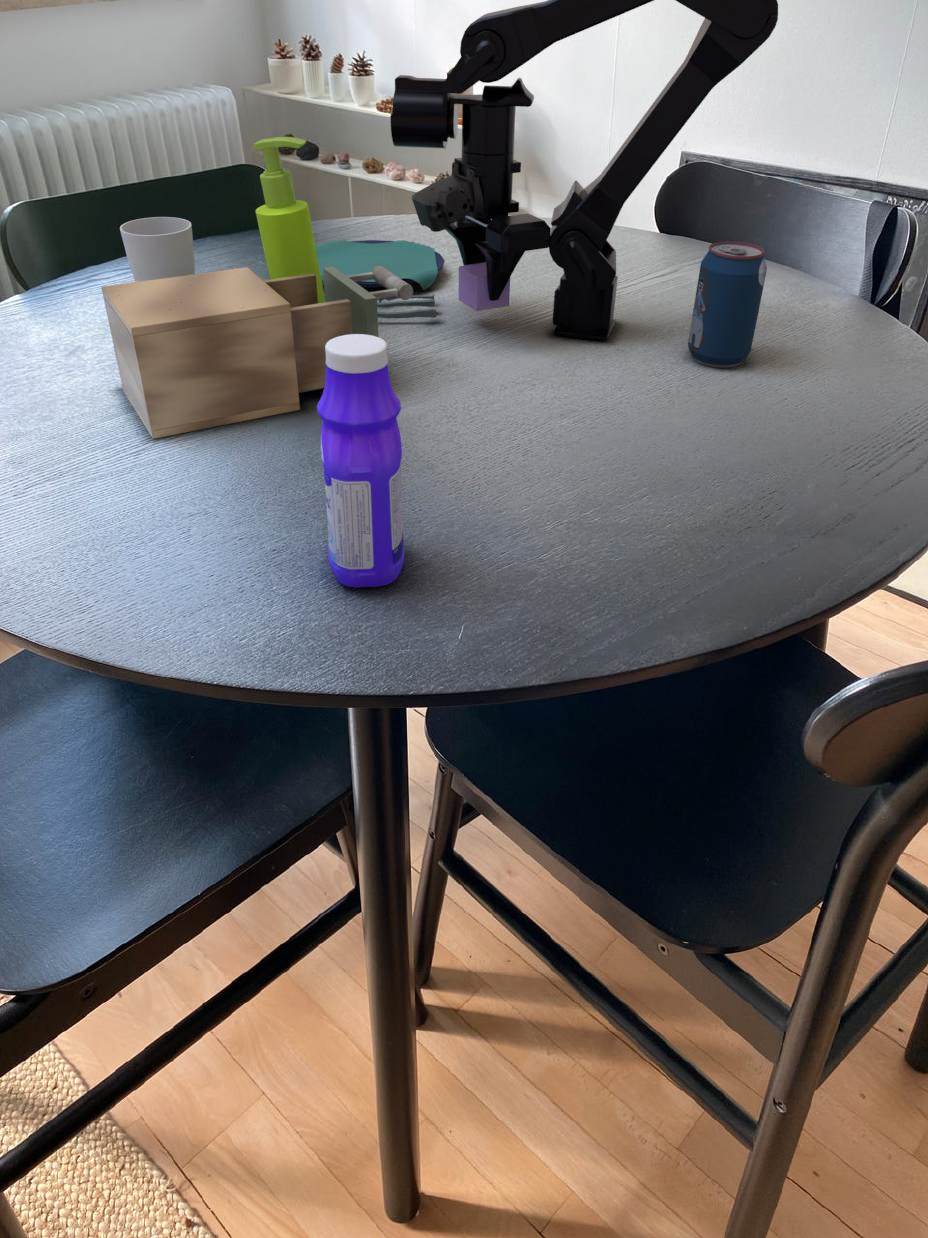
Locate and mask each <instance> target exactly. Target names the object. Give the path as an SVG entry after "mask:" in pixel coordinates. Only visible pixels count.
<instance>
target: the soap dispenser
mask: <svg viewBox="0 0 928 1238" xmlns="http://www.w3.org/2000/svg"><path fill="white" fill-rule="evenodd" d="M306 143H307V139H303V138H299V137H293V136H275V137H270V138H263V139H259V140H257V141H256V142H254V143H253V147H254V148H253V149H254V150H255V151H257V150H262V155H263V160H264V164H265V170H263V173H261V174H260V175H259V180H260V184H261V190H262V194H263V199H264V204H263V205H261V206H259V207H257V208H256V209H255V216H256V221H257V226H258V230H259V235H260V239H261V245H262V249H263V254H264V258H265V259H264V260H265V262H266V267H267V268H266V269H267V273H268V277H269V279H276V278H283V277H290V276H298V275H305V274H312V273H313V274H315V275H316V283H317V296H318V304H319V303H325V297H324V296H325V293H324V286H323V285H322V280H321V275H320V269H319V263H318V258H317V252H316V247H315V246H316V241H315V236H314V235H315V234H314V232H313V225H312V219H311V214H310V208H309V203H308V202H307V201H305V200H301V199H296V194H295V189H294V184H293V178H292V177H293V176H292V172H291V171H290V170H289V169H287V168H285V167H282V161H281V157H280V150H279V148H292V149H293V148H294V149H297V150H299V149H300V148H302V147H303V146H304V145H305V144H306Z"/></svg>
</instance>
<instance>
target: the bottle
mask: <svg viewBox="0 0 928 1238" xmlns="http://www.w3.org/2000/svg"><path fill="white" fill-rule="evenodd" d="M325 352H326V381H325V388H323V392H322V394H321V397H320V399H319V400H318V403H317V406H316V411H317V414H318V416H319V417H320V419H321V420H322V423H321V429H320V430H321V431H320V443H319V444H320V458H321V462H322V466H323V477H324V488H325V503H326V519H327V521H326V522H327V535H328V538H327V539H328V548H327V556H328V557H327V558H328V563H329V566H330V569H331V572H332V573H333V576H334V577H335V579H336V580H337V582H339V583H340V584H341V585H343V586H346V587H351V588H375V587H383V586H387V585H390V584H392V583H393V582H395V580H396V579H398V577H399V575H400V574H401V572H402V568H403V565H404V561H405V541H404V523H403V519H404V518H403V494H402V493H403V492H402V457H403V450H402V449H403V448H402V447H403V446H402V438H401V431H400V427H399V423H398V419H397V418H398V416H399V414H400V412H401V410H402V404H401V400H400V398H398V396H397V394H396V393H395V391H394V388H393V386H392V383H391V382H392V381H391V376H390V371H389V359H388V344H387V342H386V341H385V340H384V339H383V338H381V337H379V336H378V337H376V336H372V335H366V334H350V335H343V336H339V337H335V338H333V339H331V340H329V341H328V342H327V343H326V345H325Z"/></svg>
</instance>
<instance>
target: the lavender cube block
mask: <svg viewBox="0 0 928 1238" xmlns="http://www.w3.org/2000/svg"><path fill="white" fill-rule="evenodd" d="M510 291H511V277H510V278H509V280H508V282H507V284H506V286H505V288H504V290H503V292H502V294H501V296H500V298H499V299H498V300H495V301H491V300H490V299H489V294H488V284H487V270H486V262H485V263H478V264H471V265H459V266H458V301H459V302H461V303H463V304H464V305H466V306H468V307H469V308H471V309H472V310H474V311H475V312H481V311H485V310H492V309H497V308H504V307H509V306H510V296H511V295H510Z"/></svg>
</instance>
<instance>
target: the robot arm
mask: <svg viewBox="0 0 928 1238" xmlns="http://www.w3.org/2000/svg"><path fill="white" fill-rule="evenodd" d="M654 1H655V0H545V1H540V2H535V3H530V4H525V5H520V6H515V7H510V8H506V9H501V10H496V11H492V12H487V13H485V14H483V15H482V16H480V17H478V18H476V20H474V21H473V22H472V23H470V24H469V25H468V26H467V28H466V29H465V30H464V32H463V35H462V38H461V40H460V48H459V54H460V58H458V61H457V62H456V63H455V65H454V67H451V69H449V70H448V71H447V72H446V78H433V77H416V76H413V75H407V74H399V75H398V76H396V77H395V78H394V93H393V97H392V98H393V99H392V111H391V113H390V117H389V118H390V134H391V140H392V144H393V146H394V147H399V148H425V149H446V148H447V145H448V142H449V138H450V139H451V140H455V139H457V136H458V128H459V105H462V106H461V107H462V108H461V157H455V158H453V159H454V161H453V162H452V164H451V175H449V176H446V177H445V178H441V179H439V180H436V181H435V182H433V183H431V184H429V185H427V186H425V187H424V188H421V189H420V190H418V191H416V192H414V193H413V194H412V196H411V200H412V204H413V206H414V210H415V212H416V215H417V219H418V221H419V223H420V226H423V227H426V228H428V229H429V230H430V231H431V232H434V233H439V232H442V231H446V232H447V233H448V234H449V235H450V236H451V237H452V238H453V239H454V240H455V242H456V244H457V248H458V250H459V253H460V257H461V260H462V266H464V265H471V264H478V263H485V262H486V270H487V284H488V294H489V299H490V300H491V301H495V300H498V299H499V298H500V296H501V294H502V292H503V290H504V288H505V286H506V284H507V282H508V280H509V278H510V279H511V276H512V275H513V273H514V270H515V269H516V267H517V265H518V264H519V262H520V261H521V259H522V257H523V256H524V254H525V253H526V252H529V251H536V250H537V251H538V250H543V249H549V250H548V251H549V255H550V257H551V259H552V261H553V262H554V263H555V265H557V266H558V267H559V268H561V269H562V270H563V274H562V275H561V276H560V278H559V284H558V286H557V287H556V288H555V290H554V295H553V307H552V308H553V309H552V325H553V326H555V327H554V328H553V329H552V335H553V336H560V337H570V338H575V339H577V338H578V339H586V340H594V341H595V340H596V341H602V342H605V341H608V339H609V338H610V336H611V334H612V331H613V330H614V328H615V326H616V319H615V318H614V317H615V316H614V315H615V307H616V297H617V287H618V279H619V276H618V275H617V251H616V249H615V248H614V247H613V246H612V245H611V243H610V242H609V241H608V238H609V236H610V234H611V232H612V230H613V227H614V226H615V223H616V221H617V219H618V217H619V215H620V213H621V211H622V210H623V209H622V208H623V207H624V204H625V203H626V202H627V201H628V199H629V198H630V197H631V196H632V194H633V193H634V191H635V190H636V188H637V187H638V186H640V183H641V182H642V181H643V180H644V179H645V177H646V176H647V174H648V173H649V172H650V170H651V169H652V168H653V167H654V166H655V164H656V162H658V160H659V159H660V157H661V156H662V155H663V154H664V152H665V151H666V150H667V148H668V147H669V146H670V144H671V143H672V142H673V140H674V139H675V138H676V136H677V135H678V134H679V132H681V130H682V129H683V127H684V126H685V125H686V124H687V122H688V121H689V119H690V118H691V117H692V116H693V115H694V113H695V112H696V110H697V109H698V108H699V106H700V105H701V104H702V103H703V101H704V100H706V97H708V95H709V94H710V92H711V91H712V90H713V89H714V88H715V87H716V86H717V85H718V84H719V83H720V82H721V81H723V80H724V79H725V78H726V77H728V76H729V75H730V74H732V72H734V71H735V70H737V69H738V68H739V67H740V66H741V65H742V64H743V63H744V62H745V61H746V60H747V59H748V58H750V57H751V56H752V55H753V54H754V53H755V52H756V51H757V50H758V49H760V48H761V46H762V45H763V44H764V43H765V42H766V41H767V40H768V39H769V38H770V37H771V35H772V33H773V31H774V30H775V28H776V26H777V23H778V20H779V3H778V0H675V1H676V2H677V3H679V4H681V5H682V6H685V7H686V8H688V9H689V10H691V11H693V12H694V13H696V14H697V15H699V16H701V17H703V20H702V23H701V25H700V27H699V29H698V31H697V33H696V35H695V38H694V40H693V42H692V44H691V46H690V48H689V50H688V53H687V55H686V56H685V59H684V61H683V62H682V63H681V64H680V66H679V67H678V69H677V70H676V71H675V73H674V74H673V75H672V77H671V78H670V79H669V81H668V82H667V84H666V85H665V87H664V88H663V89H662V90H661V91H660V93H659V94H658V96H657V97H656V98H655V100H654V101H653V102H652V104H651V105H650V107H649V108H648V110H647V111H646V112H645V113H644V115H643V116H642V117H641V118H640V120H639V122H638V123H637V124H636V125H635V127H634V129H633V130H632V131H631V132H630V134H628V136H627V138H626V139H625V140H624V142H623V143H622V144H621V146H620V147H619V149H618V150H617V151H616V153H615V154H614V155H613V156H612V158H611V159H610V161H609V162H608V163H607V165H606V166H605V167H604V169H603V170H602V171H601V173H600V174H599V175H598V176H597V177H596V178H595V179H594V180H593V181H592V182H590V183H589V184H588V185H587V186H586V187H583V185H581V184H580V182H579V181H578V180H574V182H573V183H572V185H571V186H570V187H571V188H570V189H569V191H568V193H567V195H566V196H565V199H563V200H562V202H561V203H560V204H558V205H556V206H555V207H554V208H553V211H552V217H551V222H550V225H551V226H549V224H548V223H547V222H546V221H545V220H544V219H542V218H540V217H537V216H535V215H533V214H530V213H528V212H527V213H519V211H520V202H519V201H517V200H515V199H513V183H514V182H513V181H514V174H517V173H521V170H522V162H521V161H518V160H516V159H515V158H514V156H515V134H516V133H515V132H516V111H517V110H516V109H517V107H522V108H523V107H525V108H530V107H531V106H532V105H533V102H534V100H535V95H534V94H533V93H531V91H530V90H529V89H528V88H527V87H526V85H525V83H524V82H523V79H522V78H521V77H518V78H516V80H515V81H514V83H513V84H512V85H511V86H510V85H484V86H483V89H482V94H480V93H479V94H464V92H466V91H468V89H470V88H471V87H473V86H474V85H476V84H477V83H478V82H481V83H483V84H490V83H496V82H498V81H500V80H502V79H503V78H505V77H507V76H508V75H510V74H511V73H513V72H514V71H516V70H517V69H518V68H520V67H522V66H524V65H525V64H526V63H528V62H529V61H531V60H532V59H533V58H534V57H536V56H537V55H539V54H540V53H542V52H543V51H544V50H546V49H548V48H549V47H550V46H552V45H553V44H555V43H557V42H559V41H562V40H565V39H566V38H569V37H571V36H574V35H577V34H578V33H580V32H583V31H585V30H589V29H590V28H593V27H596V26H597V25H599V24H602V23H605V22H607V21H610V20H611V19H614V18H616V17H618V16H621V15H623V14H626V13H628V12H631V11H632V10H633V11H634V10H636V9H637V8H640V7H642V6H645V5H647V4H649V3H651V2H654ZM513 213H519V214H513ZM509 214H510V215H509ZM511 214H513V215H511Z"/></svg>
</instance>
